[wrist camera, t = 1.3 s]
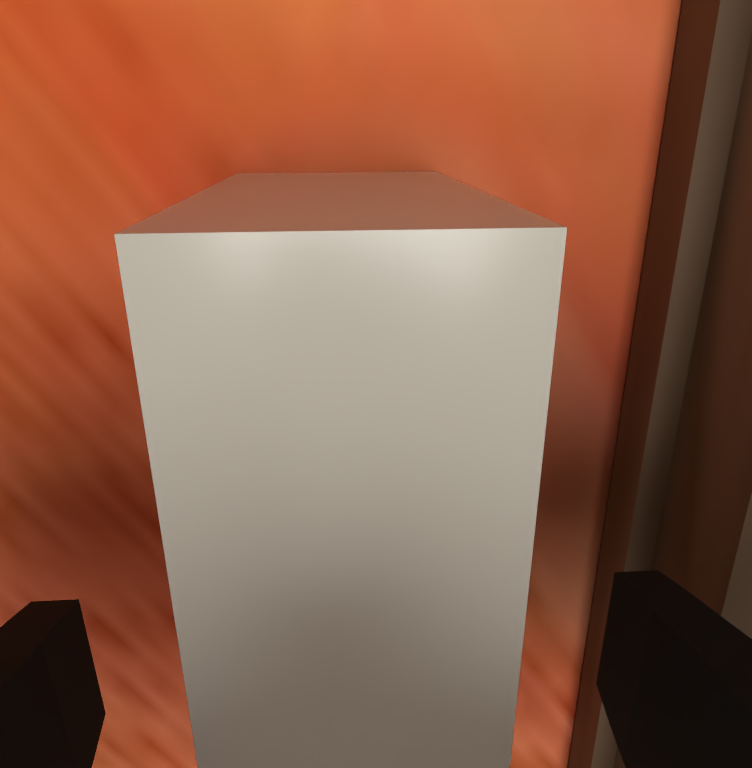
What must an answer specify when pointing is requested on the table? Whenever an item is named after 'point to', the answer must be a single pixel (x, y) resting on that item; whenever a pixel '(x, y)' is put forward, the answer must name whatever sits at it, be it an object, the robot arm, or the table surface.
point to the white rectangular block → (346, 459)
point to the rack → (687, 359)
